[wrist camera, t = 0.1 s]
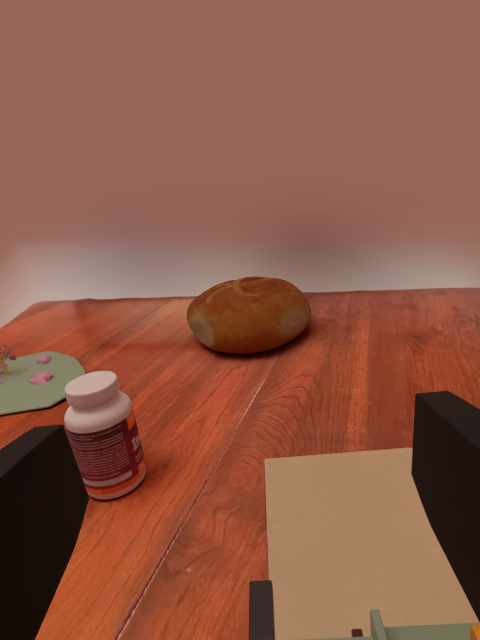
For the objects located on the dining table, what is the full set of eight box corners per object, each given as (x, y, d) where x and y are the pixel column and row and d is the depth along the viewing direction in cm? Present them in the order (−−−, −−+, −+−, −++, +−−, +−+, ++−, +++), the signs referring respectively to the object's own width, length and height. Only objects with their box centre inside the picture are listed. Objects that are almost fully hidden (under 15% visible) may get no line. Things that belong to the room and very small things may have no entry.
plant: (124, 361, 70) (112, 311, 67) (22, 430, 52) (0, 366, 49) (24, 353, 80) (10, 309, 77) (-90, 408, 63) (-113, 354, 60)
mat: (669, 690, 20) (670, 686, 20) (273, 704, 22) (273, 701, 22) (470, 445, 39) (470, 442, 39) (264, 461, 41) (264, 458, 41)
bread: (163, 357, 69) (151, 302, 66) (220, 313, 89) (213, 268, 86) (292, 366, 60) (286, 302, 57) (323, 314, 80) (320, 264, 77)
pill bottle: (156, 482, 40) (133, 382, 36) (92, 513, 37) (60, 407, 33) (137, 451, 45) (115, 361, 41) (79, 476, 42) (51, 381, 39)
